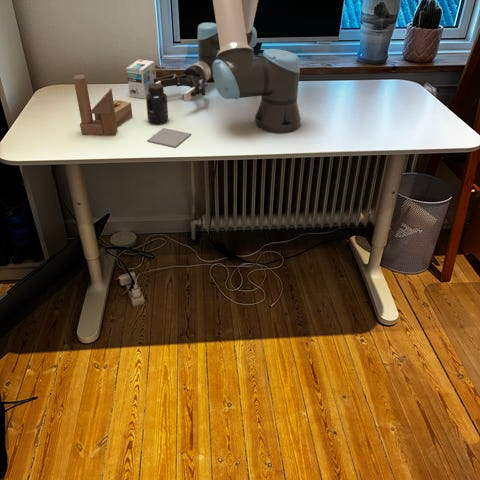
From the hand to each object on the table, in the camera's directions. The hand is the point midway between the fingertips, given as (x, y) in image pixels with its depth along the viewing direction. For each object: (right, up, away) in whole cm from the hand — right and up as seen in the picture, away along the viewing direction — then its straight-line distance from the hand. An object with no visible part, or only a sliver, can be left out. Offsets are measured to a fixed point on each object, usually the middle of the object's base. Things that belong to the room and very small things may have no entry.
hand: (167, 94), depth 169 cm
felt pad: (+2, -17, -12) cm, 21 cm away
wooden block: (-20, -15, -10) cm, 27 cm away
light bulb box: (-12, +6, +18) cm, 22 cm away
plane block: (-17, -10, -3) cm, 20 cm away
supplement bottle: (-3, -10, -2) cm, 10 cm away
